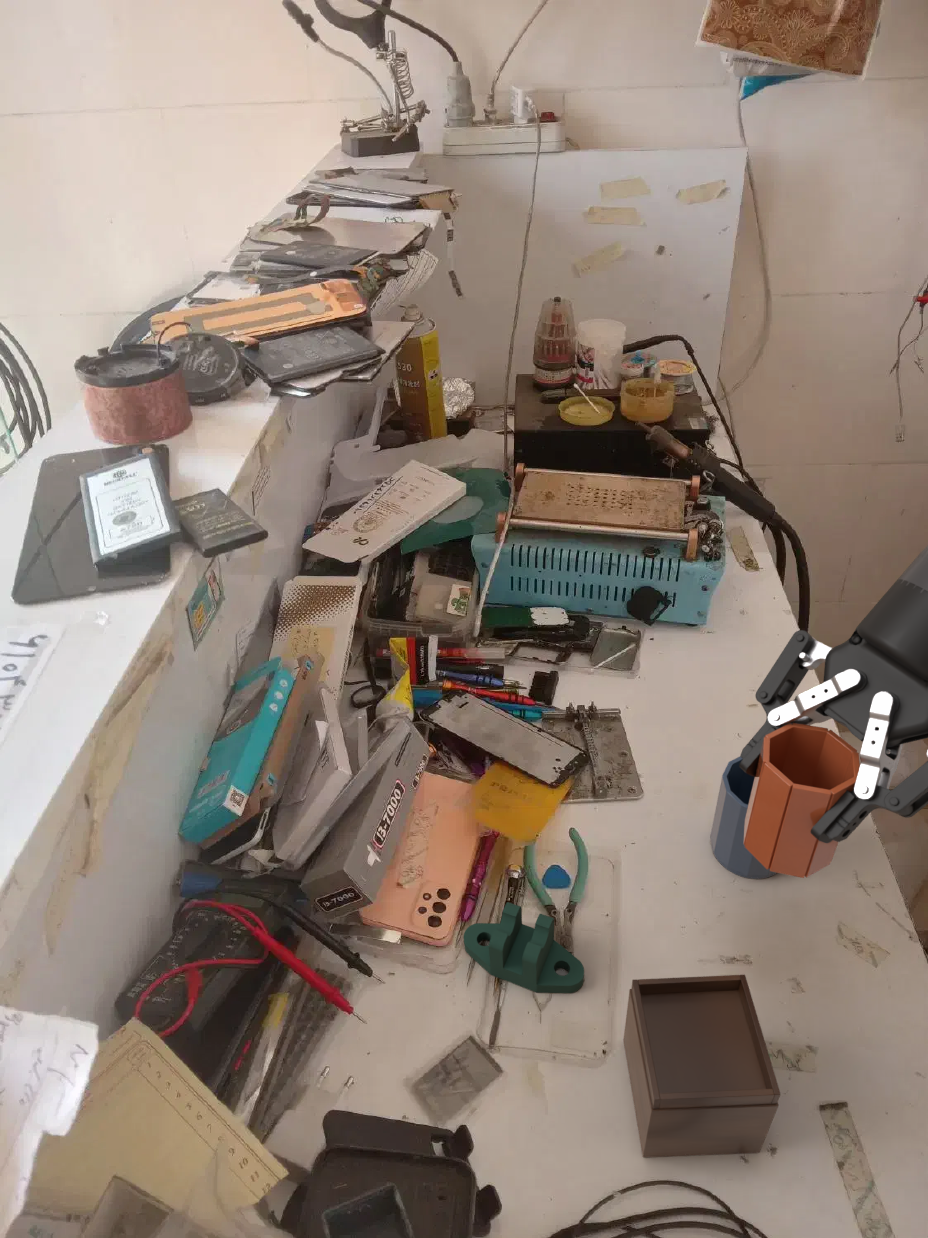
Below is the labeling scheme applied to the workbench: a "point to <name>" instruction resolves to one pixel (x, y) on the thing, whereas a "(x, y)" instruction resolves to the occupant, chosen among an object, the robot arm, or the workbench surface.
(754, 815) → the terracotta cup
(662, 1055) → the box
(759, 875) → the slate cup
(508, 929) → the mount
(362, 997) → the workbench surface
